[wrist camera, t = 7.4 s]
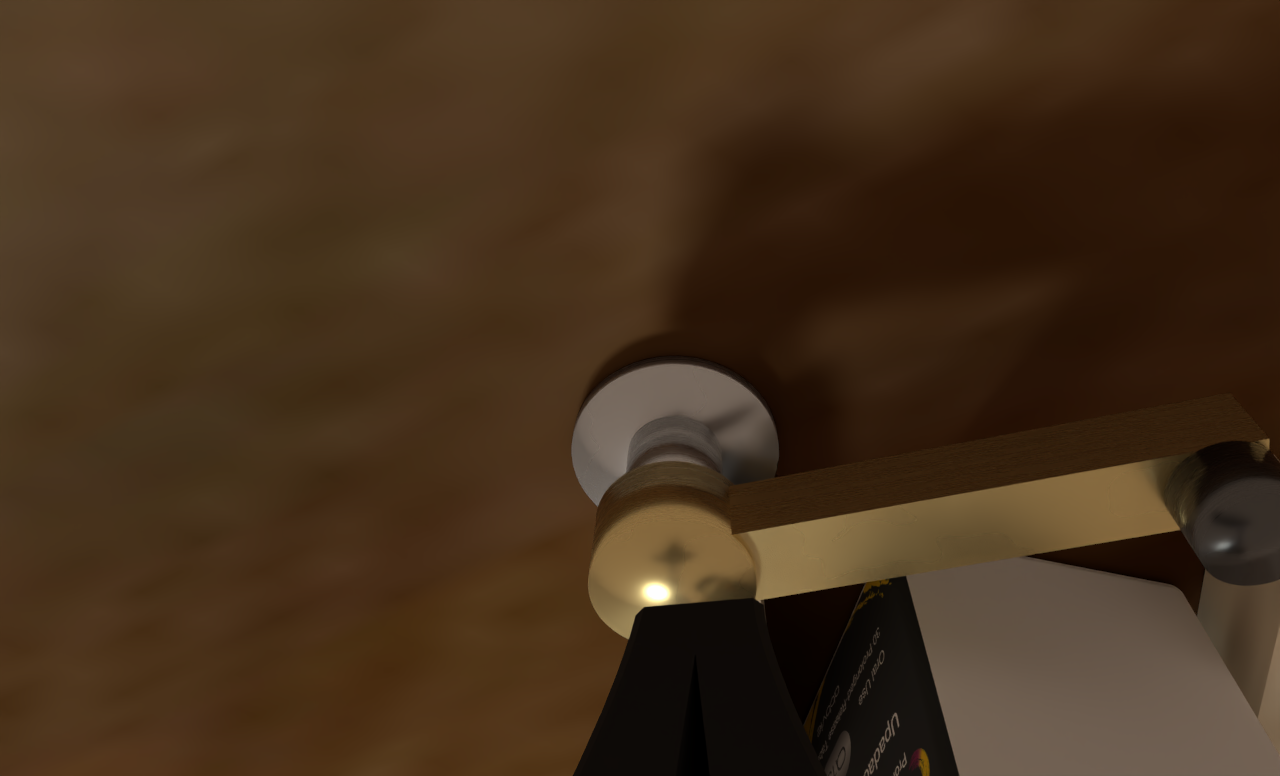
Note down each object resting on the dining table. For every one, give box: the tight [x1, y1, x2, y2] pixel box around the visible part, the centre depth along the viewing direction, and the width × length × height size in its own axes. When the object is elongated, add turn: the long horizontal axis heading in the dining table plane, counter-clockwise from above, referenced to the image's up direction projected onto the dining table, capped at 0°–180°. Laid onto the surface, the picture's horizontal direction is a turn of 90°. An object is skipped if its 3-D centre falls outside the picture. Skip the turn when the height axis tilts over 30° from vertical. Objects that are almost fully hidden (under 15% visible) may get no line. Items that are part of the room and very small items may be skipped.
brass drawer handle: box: [588, 392, 1280, 639], centre depth 18 cm, size 12×3×3 cm, turn 105°
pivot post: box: [572, 356, 779, 506], centre depth 21 cm, size 4×4×2 cm
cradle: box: [758, 455, 1280, 756], centre depth 24 cm, size 11×12×3 cm
